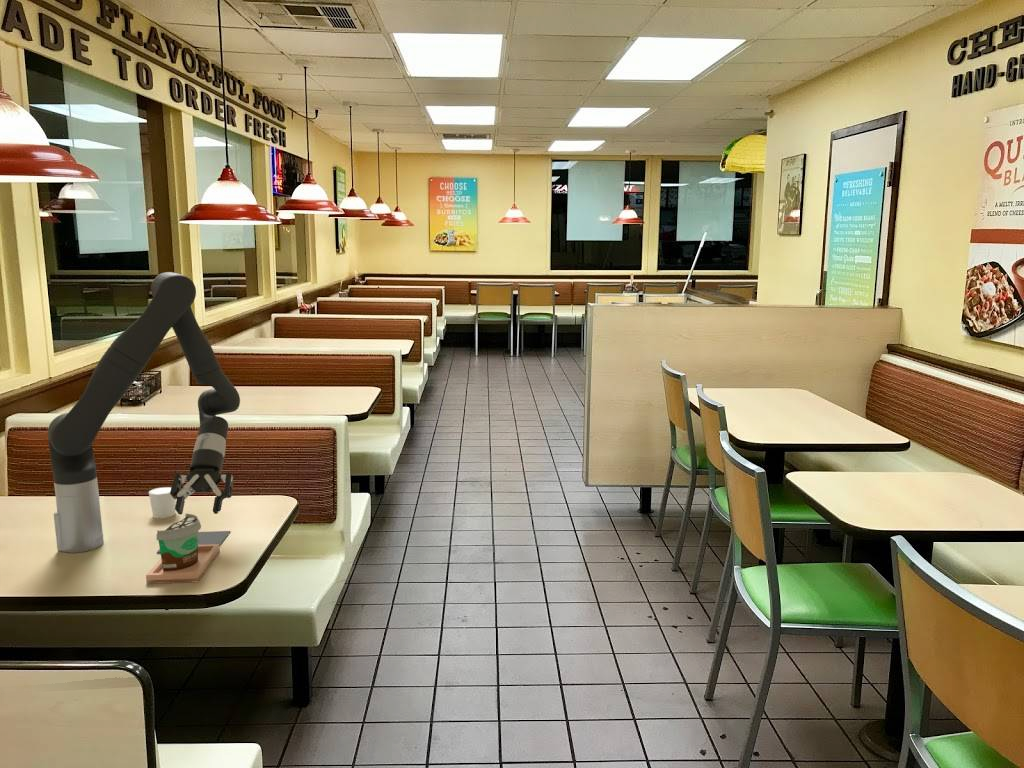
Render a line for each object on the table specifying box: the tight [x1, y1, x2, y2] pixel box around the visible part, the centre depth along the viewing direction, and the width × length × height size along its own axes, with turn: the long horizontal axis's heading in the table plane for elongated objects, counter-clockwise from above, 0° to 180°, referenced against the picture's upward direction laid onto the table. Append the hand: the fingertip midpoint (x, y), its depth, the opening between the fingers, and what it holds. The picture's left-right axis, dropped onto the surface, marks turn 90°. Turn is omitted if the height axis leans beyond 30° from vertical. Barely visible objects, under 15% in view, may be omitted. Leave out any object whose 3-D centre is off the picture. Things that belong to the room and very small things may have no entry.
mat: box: [156, 530, 231, 554], centre depth 193 cm, size 14×13×1 cm
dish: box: [145, 544, 221, 585], centre depth 178 cm, size 11×17×2 cm, turn 5°
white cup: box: [148, 486, 177, 518], centre depth 213 cm, size 7×7×7 cm
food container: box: [156, 513, 202, 571], centre depth 177 cm, size 12×6×10 cm, turn 171°
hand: (197, 512), depth 188 cm, fingers open, 8 cm apart
